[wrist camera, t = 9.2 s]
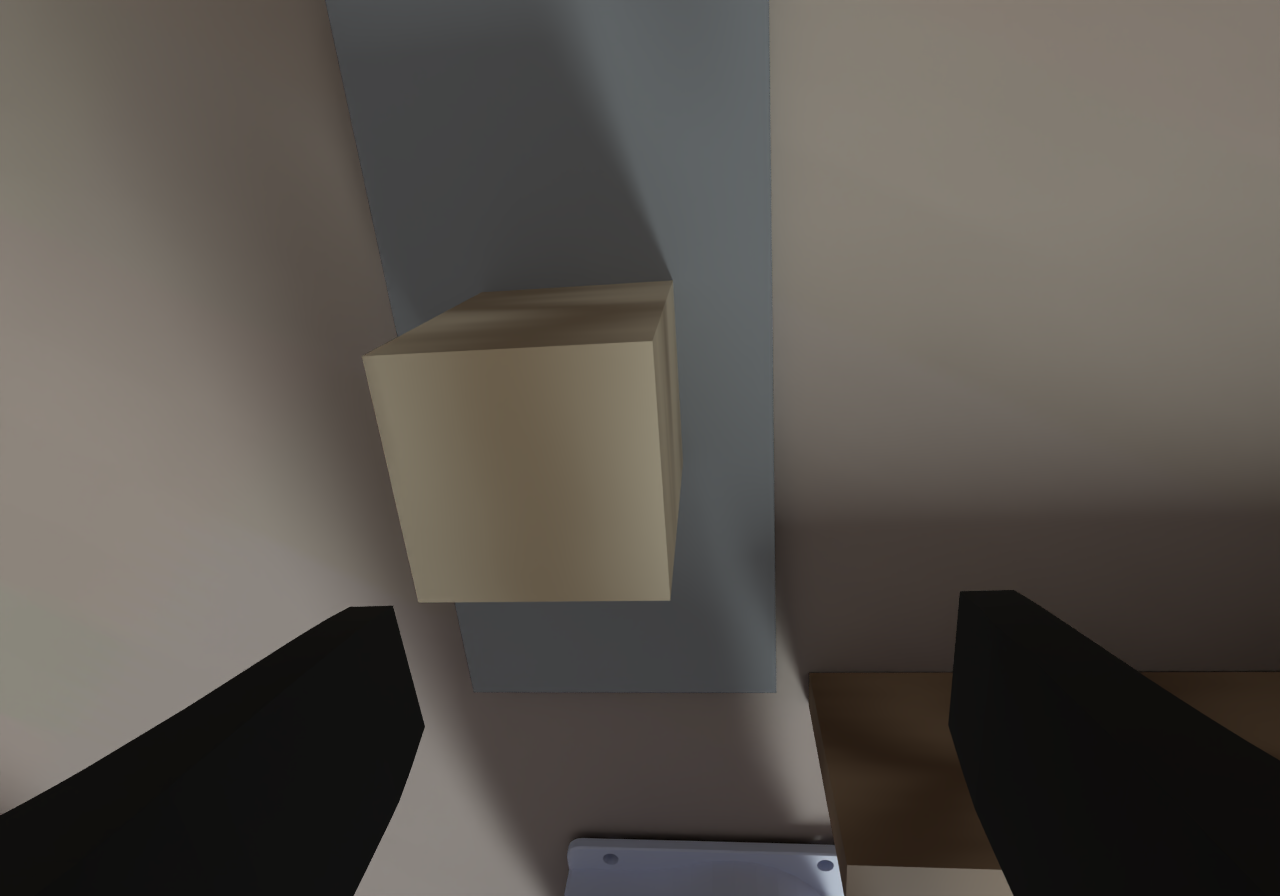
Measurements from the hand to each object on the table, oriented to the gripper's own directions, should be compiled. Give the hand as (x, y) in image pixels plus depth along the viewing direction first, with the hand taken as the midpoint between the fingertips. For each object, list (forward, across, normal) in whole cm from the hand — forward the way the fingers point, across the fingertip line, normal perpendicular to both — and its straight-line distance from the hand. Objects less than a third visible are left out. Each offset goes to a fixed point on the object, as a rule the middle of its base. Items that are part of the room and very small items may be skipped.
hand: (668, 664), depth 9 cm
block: (+9, +2, -1) cm, 9 cm away
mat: (+9, +2, -1) cm, 10 cm away
